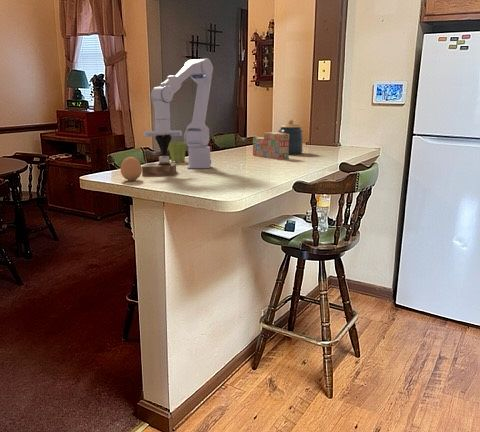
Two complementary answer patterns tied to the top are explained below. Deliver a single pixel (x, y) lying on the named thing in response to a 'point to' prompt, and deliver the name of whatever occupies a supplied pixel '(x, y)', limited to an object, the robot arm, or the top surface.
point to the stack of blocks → (272, 146)
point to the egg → (131, 168)
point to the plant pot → (177, 151)
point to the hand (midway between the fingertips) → (164, 155)
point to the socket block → (158, 169)
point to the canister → (293, 136)
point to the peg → (164, 160)
